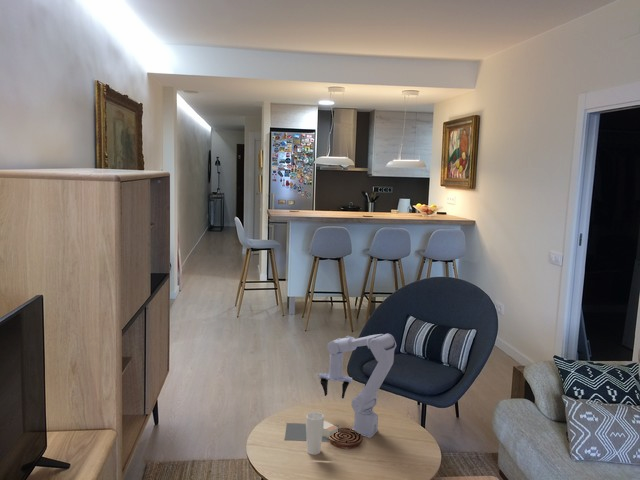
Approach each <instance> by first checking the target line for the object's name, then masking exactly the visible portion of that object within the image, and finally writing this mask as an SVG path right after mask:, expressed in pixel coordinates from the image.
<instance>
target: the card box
mask: <svg viewBox="0 0 640 480" xmlns="http://www.w3.org/2000/svg"><path fill="white" fill-rule="evenodd" d="M335 425H336V424H332V423H331V422H329V421H327V420H324V426H323V434H322V435H323V436H325V437H327V438H328V437H330V436H331V435H332V434H334V433H336V432H338V427H337V426H335Z"/></svg>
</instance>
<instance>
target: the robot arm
mask: <svg viewBox="0 0 640 480" xmlns="http://www.w3.org/2000/svg"><path fill="white" fill-rule="evenodd" d="M364 346H367V349H369V350H370V352H371V354H372V355H373V357H374V359H375V360H376V362H377V363H376V366H375V368H374V370H373V371H372V373H371V374H370V377H369V379H368V381H367V382H366V384H365V386H364V388H363V389H362V390H361V391H360V392H359V393H358V394H357V396H356V397H354V398H353V399H352V400H351V408H352V410H353V411H354V422H353V427H352V428H351V429H352V430H355V431H357V432H358V433H359V434H361V435H360V436H361V437H362V436H363V437H366V438H369V439H371V438H372V437H373V436H374V435H375V434H376V433H377V432H378V431H379V428H378V427H379V414H378V413H376V412H374V407H376V405H377V402H378V401H377V399H378V397H379V395H378V391H379V389H380V388H381V386H382V384H383V382H384V381H385V379H386V377H387V375H388V374H389V372H390V370H391V369H392V366H393V364H394V361H395V350H396V348H397V343H396V340H395V337H394V336H393V335H392V334H390V333H385V334H384V333H379V334H377V333H376V334H372V335H371V334H370V335H367V336H363V337H358V338H355V337H354V336H350V335H346V336H345V337H343V338H341V337H338V338H337V339H334V340H333V339H332V340H331V341H329V342H328V343H327V346H326V347H327V351H328V353H329V369H328V373H322V372H320V373H319V374H318V380H320V381H319V382H320V385H321V387H322V389H323V393H324V396H325V397H327V395H328V386H329V385H328V384H329V381H331V382H341V383H342V384H341V386H342V387H341V388H342V392H341V393H342V394H341V399H345V394H346V391H347V388H348V386H349V384H353V377H350V376H346V375H343V362H344V355H345V353H347V352H352V351H353V352H354V351H355V350H356V349H357V347H364ZM359 434H358V435H359Z"/></svg>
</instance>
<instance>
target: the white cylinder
mask: <svg viewBox="0 0 640 480" xmlns="http://www.w3.org/2000/svg"><path fill="white" fill-rule="evenodd" d="M324 418H325V417H324V414H323V413H321V412H319V411H310V412H308V413H307V414H306V417H305V424H306V440H307V441H306V453H307V454H309V455H311V456H317V455H319V454H320V453H321V450H322V442H321V441H322V434H323V426H324Z"/></svg>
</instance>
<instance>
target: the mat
mask: <svg viewBox="0 0 640 480" xmlns="http://www.w3.org/2000/svg"><path fill="white" fill-rule="evenodd" d="M334 425H335V426H337V427H338V429H339V430H340V426H339V424H334ZM284 441H292V442H295V441H296V442H307V440H306V423H295V422H294V423H293V422H286V427H285V435H284ZM321 443H331V442H330V441H329V439H328V438H327V437H325V436H323V435H322V441H321Z"/></svg>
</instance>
